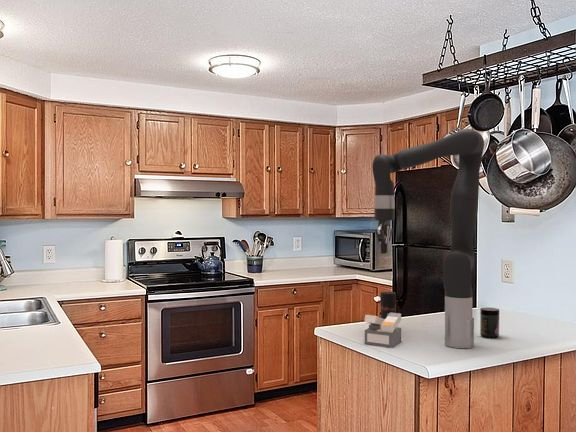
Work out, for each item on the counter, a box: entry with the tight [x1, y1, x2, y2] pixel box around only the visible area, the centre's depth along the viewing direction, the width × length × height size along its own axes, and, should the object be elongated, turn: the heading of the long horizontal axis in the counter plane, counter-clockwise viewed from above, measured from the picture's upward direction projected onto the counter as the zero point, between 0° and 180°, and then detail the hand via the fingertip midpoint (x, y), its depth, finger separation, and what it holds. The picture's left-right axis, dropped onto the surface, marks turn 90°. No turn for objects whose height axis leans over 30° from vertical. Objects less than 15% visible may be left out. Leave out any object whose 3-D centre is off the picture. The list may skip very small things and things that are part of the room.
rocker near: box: [381, 312, 402, 333], centre depth 189 cm, size 4×10×3 cm, turn 149°
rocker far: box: [364, 314, 385, 325], centre depth 193 cm, size 4×10×3 cm, turn 149°
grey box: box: [364, 323, 402, 349], centre depth 191 cm, size 10×10×6 cm
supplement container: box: [479, 307, 500, 340], centre depth 200 cm, size 7×7×10 cm
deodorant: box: [380, 291, 397, 319], centre depth 210 cm, size 6×6×15 cm
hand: (384, 253), depth 203 cm, fingers closed
